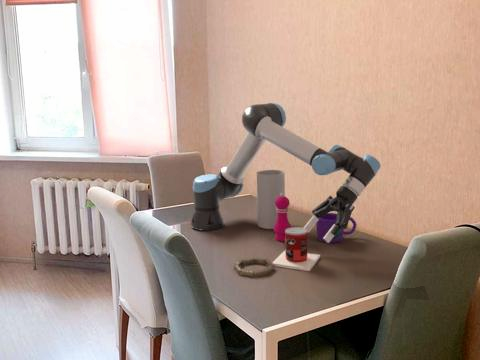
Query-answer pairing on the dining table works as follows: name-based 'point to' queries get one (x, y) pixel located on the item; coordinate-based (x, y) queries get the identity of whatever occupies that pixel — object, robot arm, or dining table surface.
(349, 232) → the mug
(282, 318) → the dining table surface
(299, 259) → the canned food
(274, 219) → the cylinder vase
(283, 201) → the pepper mill
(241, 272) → the wooden polygonal ring
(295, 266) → the coaster
